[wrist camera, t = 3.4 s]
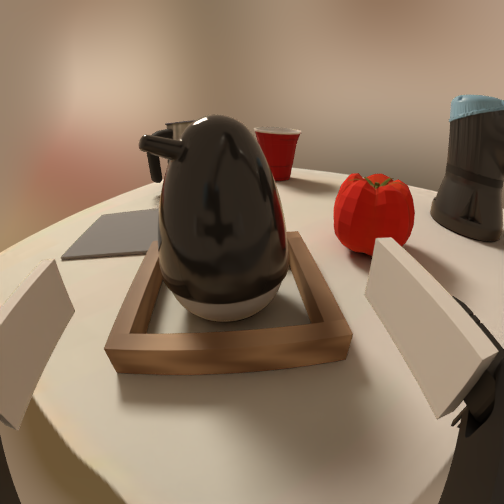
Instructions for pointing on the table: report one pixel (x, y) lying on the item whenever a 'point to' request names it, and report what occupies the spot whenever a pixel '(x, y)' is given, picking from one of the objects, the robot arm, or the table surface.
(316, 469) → the table surface
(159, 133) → the milk frother
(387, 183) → the tomato
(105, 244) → the rubber mat
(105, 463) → the table surface
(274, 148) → the plastic cup
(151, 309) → the walnut collar
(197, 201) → the pump dispenser
